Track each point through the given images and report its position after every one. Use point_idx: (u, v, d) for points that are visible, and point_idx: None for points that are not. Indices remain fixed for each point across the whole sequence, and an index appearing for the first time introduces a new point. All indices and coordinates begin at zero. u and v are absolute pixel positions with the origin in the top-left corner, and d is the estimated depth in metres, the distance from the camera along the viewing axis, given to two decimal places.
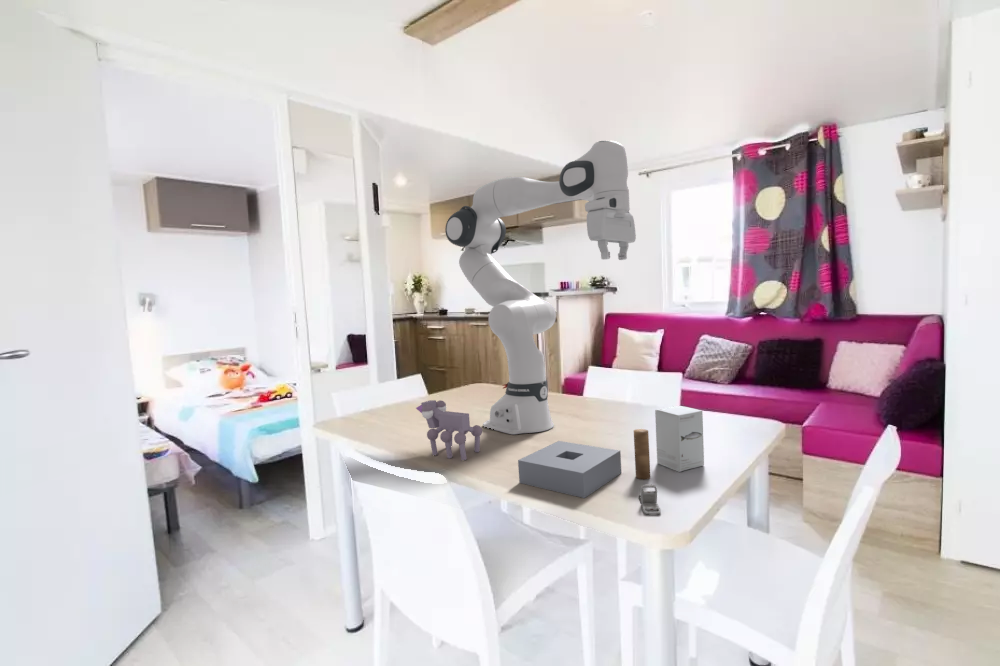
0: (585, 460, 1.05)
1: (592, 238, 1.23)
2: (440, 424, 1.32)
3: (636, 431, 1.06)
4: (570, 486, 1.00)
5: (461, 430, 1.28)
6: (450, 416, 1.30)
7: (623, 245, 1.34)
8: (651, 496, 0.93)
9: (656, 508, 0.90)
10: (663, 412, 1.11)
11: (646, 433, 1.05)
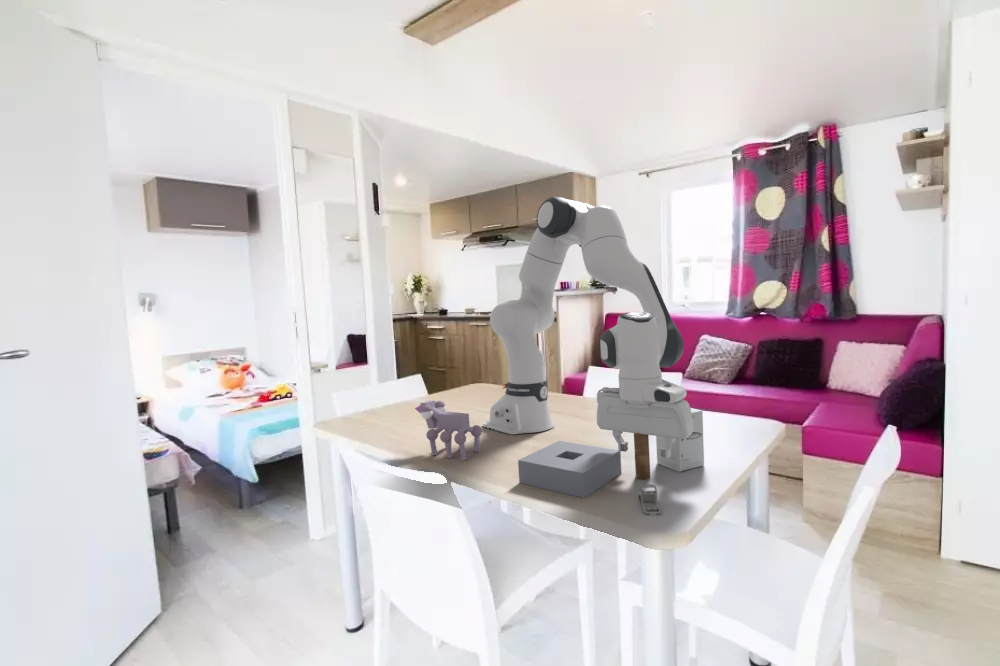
0: (585, 460, 1.05)
1: (688, 436, 1.00)
2: (440, 424, 1.32)
3: None
4: (570, 486, 1.00)
5: (461, 430, 1.28)
6: (450, 416, 1.30)
7: (620, 433, 1.10)
8: (651, 496, 0.93)
9: (656, 508, 0.90)
10: None
11: None
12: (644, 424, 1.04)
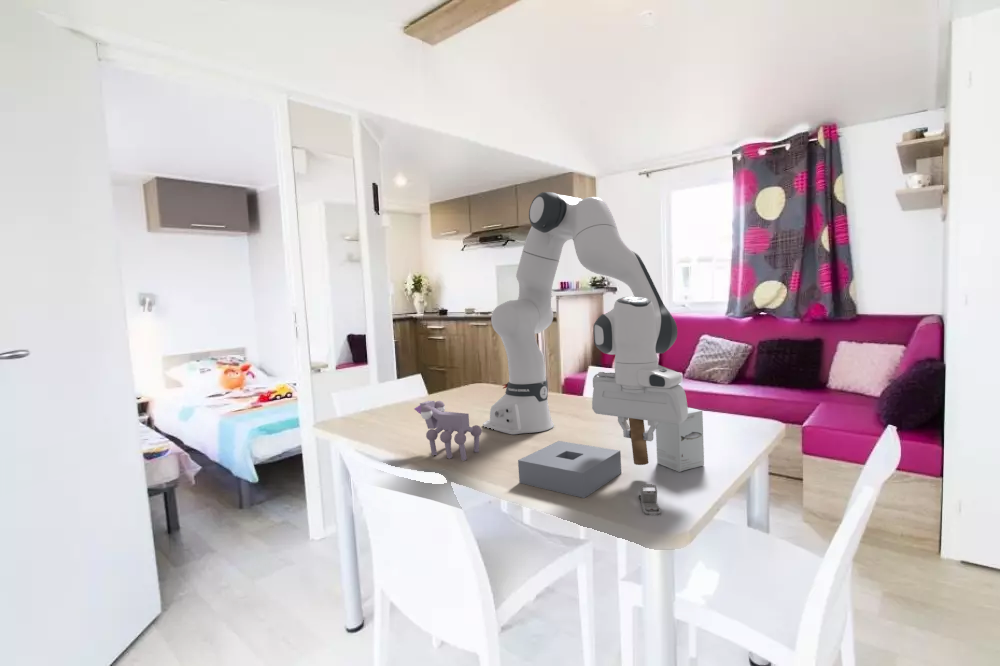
0: (585, 460, 1.05)
1: (682, 421, 0.99)
2: (439, 424, 1.32)
3: None
4: (570, 486, 1.00)
5: (461, 430, 1.28)
6: (449, 416, 1.30)
7: (626, 419, 1.08)
8: (651, 496, 0.93)
9: (656, 508, 0.90)
10: None
11: None
12: (639, 409, 1.04)
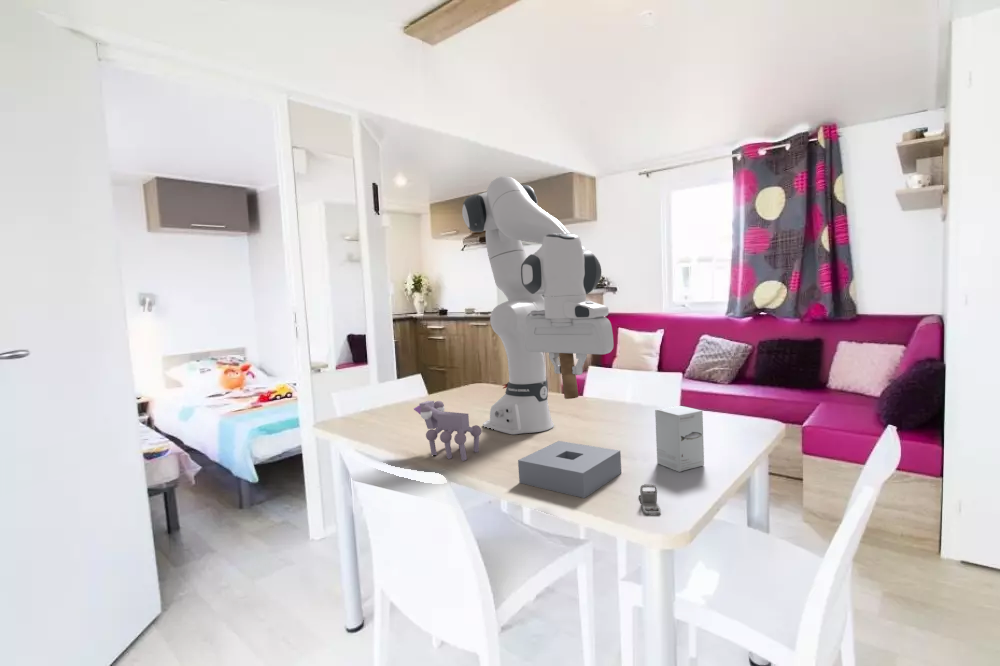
0: (585, 460, 1.05)
1: (607, 352, 1.01)
2: (439, 425, 1.32)
3: None
4: (570, 486, 1.00)
5: (461, 430, 1.27)
6: (449, 416, 1.30)
7: (557, 355, 1.09)
8: (650, 496, 0.93)
9: (656, 508, 0.90)
10: (663, 412, 1.11)
11: None
12: (567, 342, 1.05)
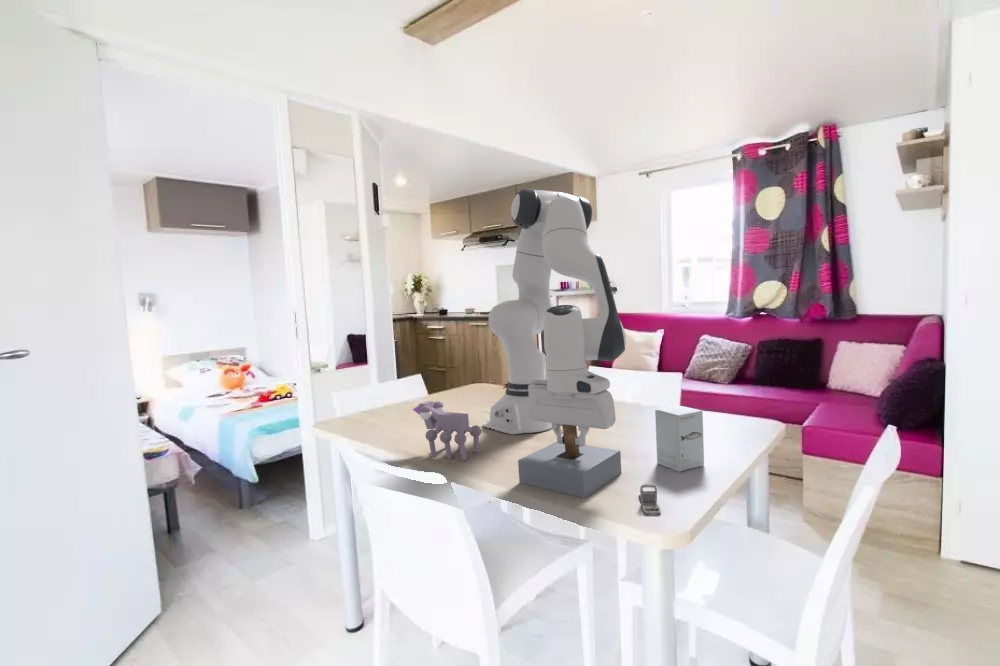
0: (585, 460, 1.05)
1: (609, 426, 1.01)
2: (439, 425, 1.32)
3: None
4: (570, 486, 1.00)
5: (461, 430, 1.27)
6: (449, 416, 1.30)
7: (559, 425, 1.10)
8: (651, 495, 0.93)
9: (656, 507, 0.90)
10: (663, 412, 1.11)
11: None
12: (569, 415, 1.06)
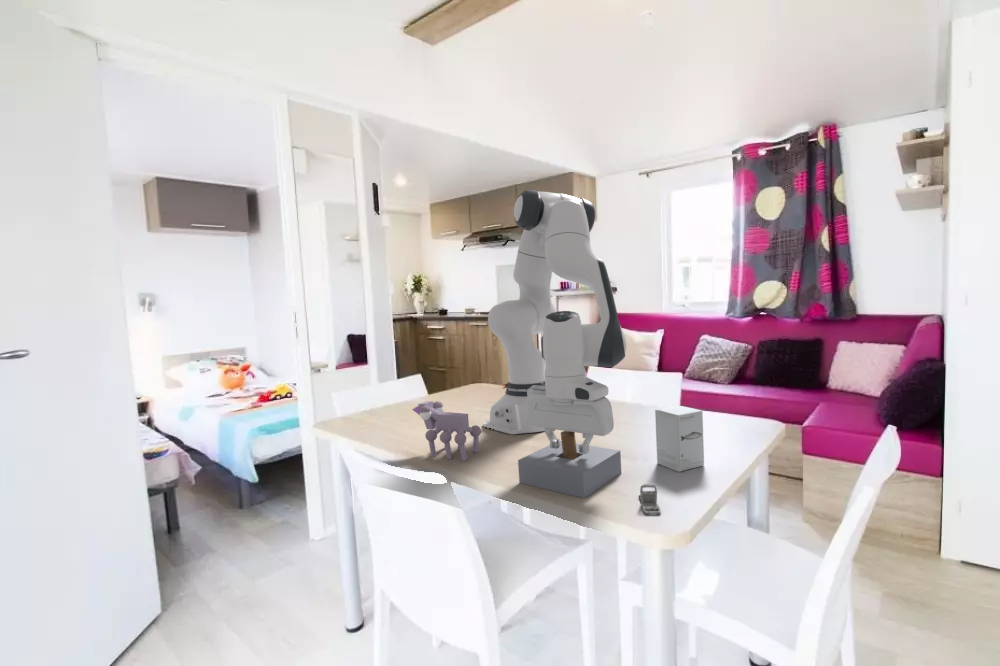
0: (585, 460, 1.05)
1: (607, 433, 1.02)
2: (438, 425, 1.32)
3: (563, 433, 1.08)
4: (570, 486, 1.00)
5: (461, 430, 1.27)
6: (449, 417, 1.30)
7: (553, 430, 1.11)
8: (650, 496, 0.93)
9: (656, 507, 0.90)
10: (663, 412, 1.11)
11: (572, 434, 1.07)
12: (568, 421, 1.06)
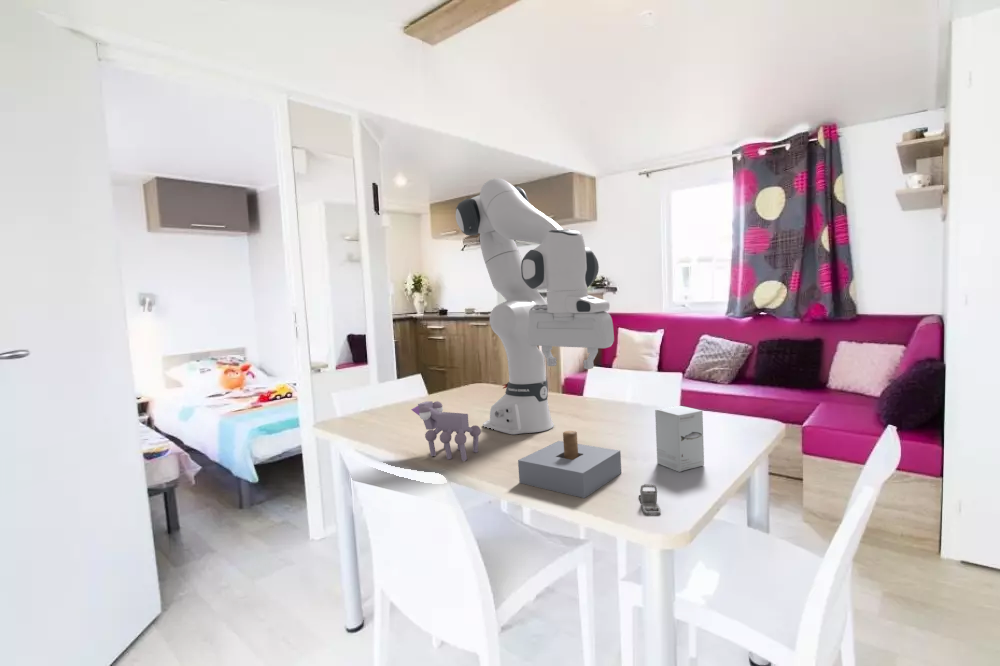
0: (585, 460, 1.05)
1: (607, 346, 1.03)
2: (438, 425, 1.32)
3: (565, 433, 1.08)
4: (570, 486, 1.00)
5: (461, 430, 1.27)
6: (449, 417, 1.29)
7: (550, 348, 1.13)
8: (651, 496, 0.93)
9: (656, 507, 0.90)
10: (663, 412, 1.11)
11: (574, 435, 1.07)
12: (569, 336, 1.07)
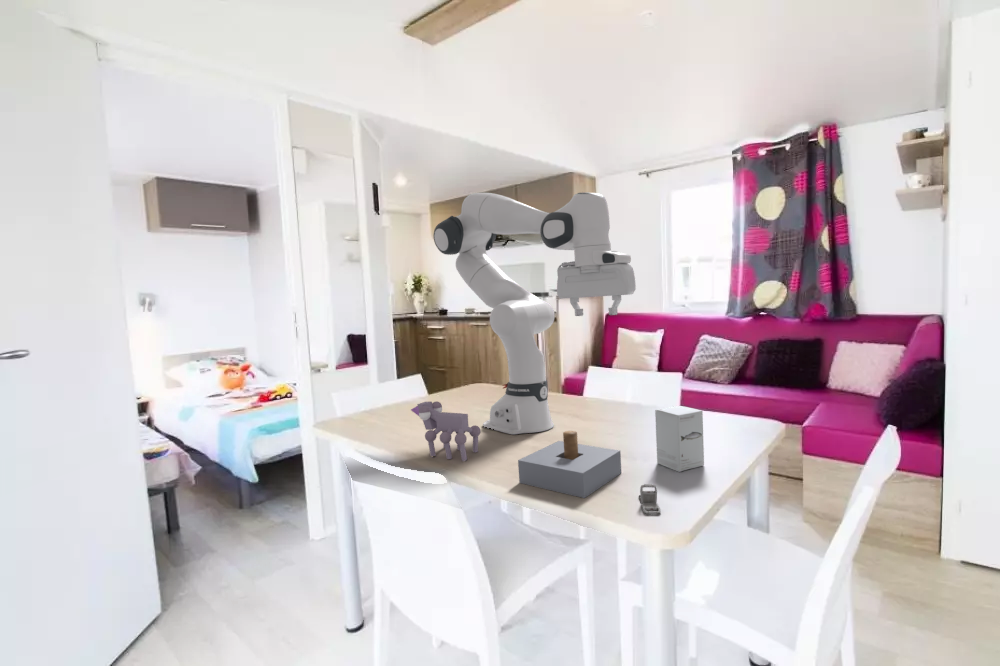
0: (585, 460, 1.05)
1: (630, 292, 1.17)
2: (438, 425, 1.31)
3: (565, 433, 1.08)
4: (570, 486, 1.00)
5: (461, 431, 1.27)
6: (449, 417, 1.29)
7: (577, 301, 1.27)
8: (650, 495, 0.93)
9: (656, 507, 0.90)
10: (663, 412, 1.11)
11: (574, 435, 1.07)
12: (595, 287, 1.21)
